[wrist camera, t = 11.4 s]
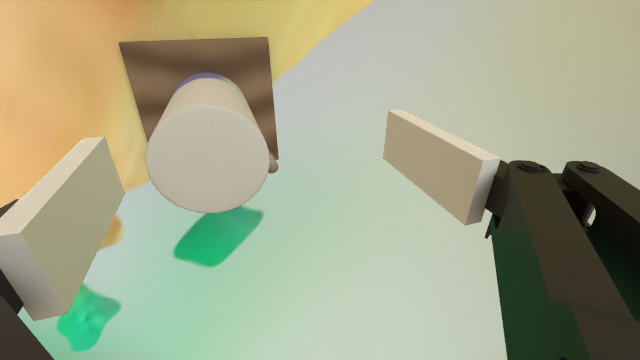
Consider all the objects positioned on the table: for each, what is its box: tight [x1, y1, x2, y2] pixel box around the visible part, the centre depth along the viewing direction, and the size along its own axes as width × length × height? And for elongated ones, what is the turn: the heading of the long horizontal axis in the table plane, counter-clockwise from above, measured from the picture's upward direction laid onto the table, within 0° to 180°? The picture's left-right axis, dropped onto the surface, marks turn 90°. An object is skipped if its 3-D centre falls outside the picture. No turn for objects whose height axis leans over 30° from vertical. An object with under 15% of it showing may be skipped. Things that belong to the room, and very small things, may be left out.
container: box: [146, 73, 269, 213], centre depth 34 cm, size 10×10×20 cm
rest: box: [119, 37, 279, 173], centre depth 41 cm, size 18×18×8 cm
